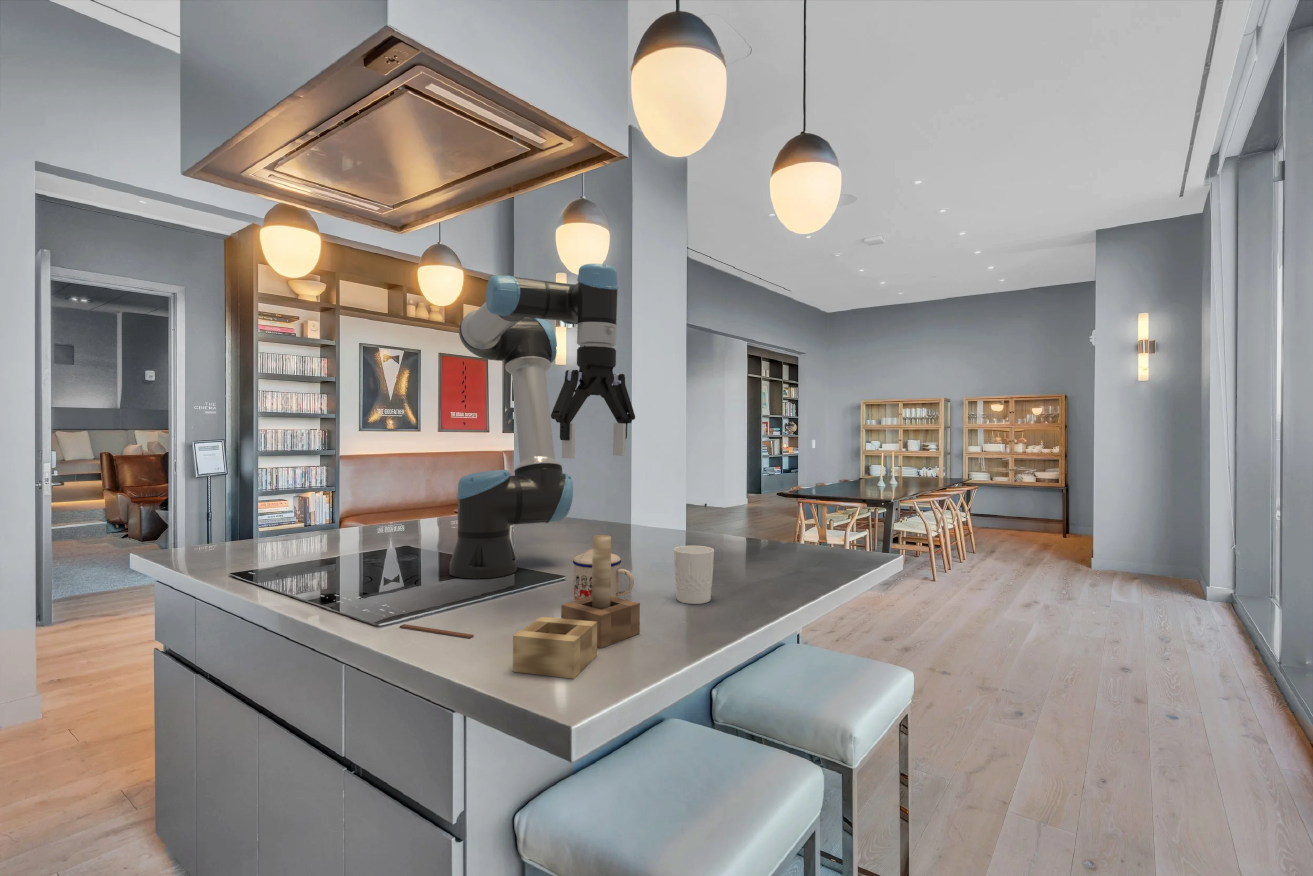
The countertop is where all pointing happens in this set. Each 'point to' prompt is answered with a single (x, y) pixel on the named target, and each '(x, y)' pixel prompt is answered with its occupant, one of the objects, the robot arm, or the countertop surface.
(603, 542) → the beige wooden dowel
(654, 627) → the countertop surface
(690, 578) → the white cup
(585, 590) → the teacup with lid
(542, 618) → the light wooden square frame
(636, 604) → the bead dark
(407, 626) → the brown wooden stick
